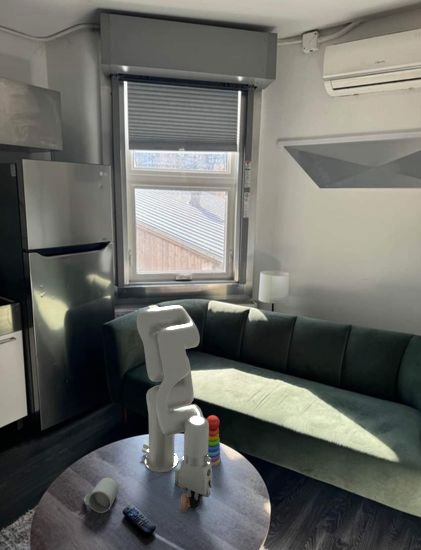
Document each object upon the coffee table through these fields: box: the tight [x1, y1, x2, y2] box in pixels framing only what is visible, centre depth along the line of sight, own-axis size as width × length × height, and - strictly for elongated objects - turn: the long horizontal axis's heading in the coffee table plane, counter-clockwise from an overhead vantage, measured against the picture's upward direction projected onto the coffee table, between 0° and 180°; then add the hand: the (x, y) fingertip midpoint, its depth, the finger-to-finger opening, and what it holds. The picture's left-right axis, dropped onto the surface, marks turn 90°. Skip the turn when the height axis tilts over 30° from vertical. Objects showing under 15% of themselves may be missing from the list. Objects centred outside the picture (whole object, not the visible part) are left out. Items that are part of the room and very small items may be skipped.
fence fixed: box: [174, 467, 186, 490], centre depth 138 cm, size 9×2×6 cm, turn 60°
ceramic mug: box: [83, 476, 120, 514], centre depth 131 cm, size 11×8×8 cm
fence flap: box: [180, 493, 190, 514], centre depth 132 cm, size 10×2×6 cm, turn 144°
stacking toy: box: [206, 414, 222, 467], centre depth 151 cm, size 8×8×19 cm
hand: (194, 506), depth 129 cm, fingers closed
